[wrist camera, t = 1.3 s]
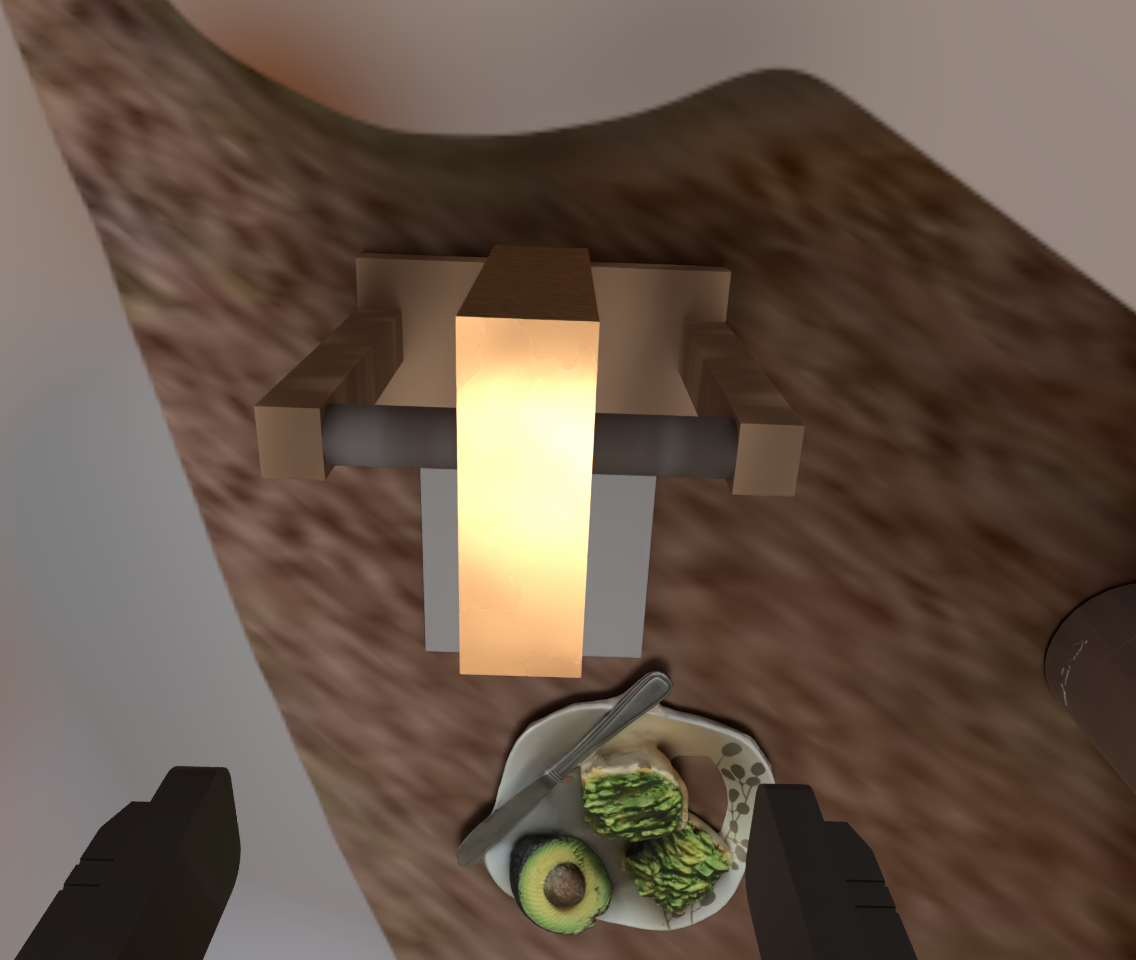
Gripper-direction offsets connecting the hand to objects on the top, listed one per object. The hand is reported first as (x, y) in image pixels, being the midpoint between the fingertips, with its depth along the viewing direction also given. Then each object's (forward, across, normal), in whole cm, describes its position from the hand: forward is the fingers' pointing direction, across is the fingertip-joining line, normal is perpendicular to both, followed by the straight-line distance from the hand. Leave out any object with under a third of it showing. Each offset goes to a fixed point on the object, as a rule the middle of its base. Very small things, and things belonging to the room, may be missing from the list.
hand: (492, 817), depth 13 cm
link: (+23, 0, 0) cm, 23 cm away
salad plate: (+32, -5, +30) cm, 44 cm away
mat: (+31, 0, +12) cm, 33 cm away
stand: (+31, 0, 0) cm, 31 cm away
